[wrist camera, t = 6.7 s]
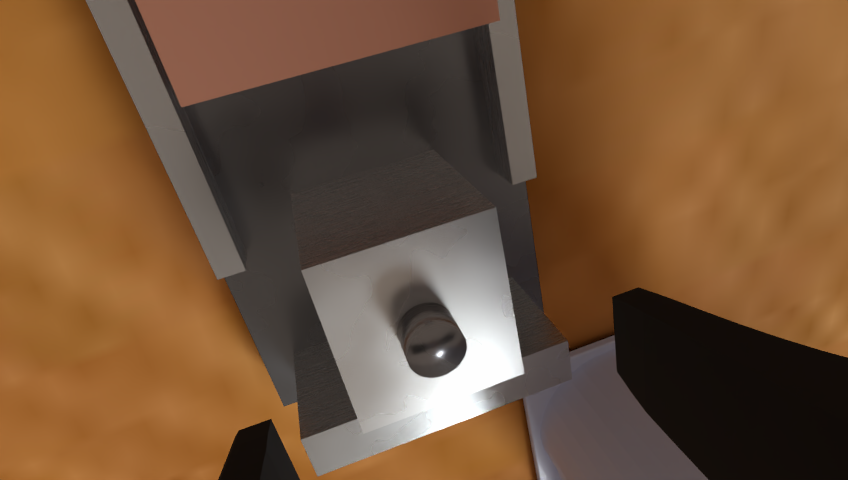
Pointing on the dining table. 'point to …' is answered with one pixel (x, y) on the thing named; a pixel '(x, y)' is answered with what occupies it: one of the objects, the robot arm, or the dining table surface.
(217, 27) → the tall terracotta prism
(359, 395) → the housing
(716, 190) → the dining table surface
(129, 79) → the press bed
